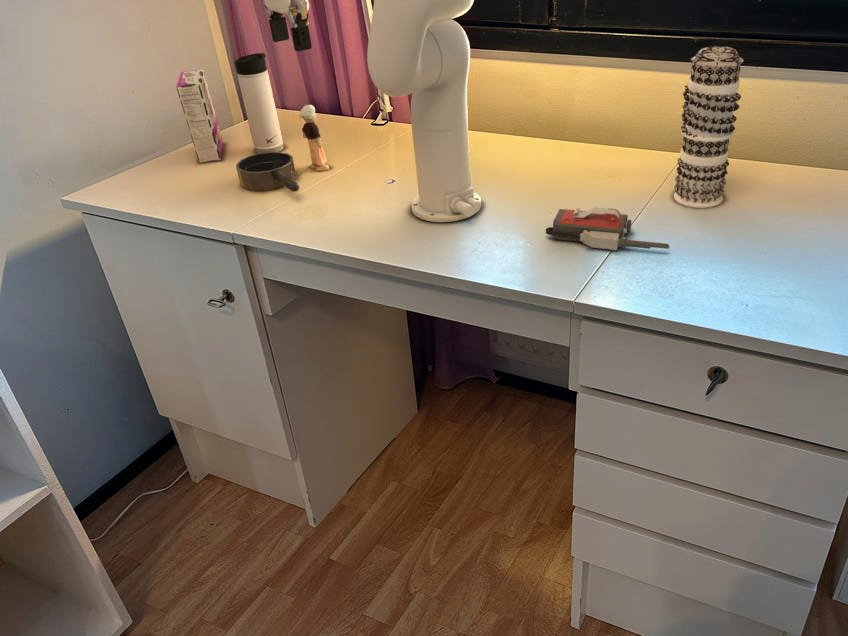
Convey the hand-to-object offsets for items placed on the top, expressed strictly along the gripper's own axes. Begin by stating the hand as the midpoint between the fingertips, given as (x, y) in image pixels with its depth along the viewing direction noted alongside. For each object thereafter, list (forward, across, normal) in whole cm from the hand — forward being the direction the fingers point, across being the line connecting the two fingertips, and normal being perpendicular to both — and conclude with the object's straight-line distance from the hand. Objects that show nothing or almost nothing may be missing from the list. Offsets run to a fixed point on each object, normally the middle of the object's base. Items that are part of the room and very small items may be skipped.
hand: (292, 45), depth 137 cm
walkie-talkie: (+23, -64, -22) cm, 71 cm away
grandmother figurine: (+24, 0, -1) cm, 24 cm away
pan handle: (+22, -10, +10) cm, 26 cm away
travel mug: (+24, +16, +3) cm, 29 cm away
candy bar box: (+24, +24, +14) cm, 37 cm away
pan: (+24, 0, +10) cm, 26 cm away
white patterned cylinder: (+23, -63, -45) cm, 81 cm away
